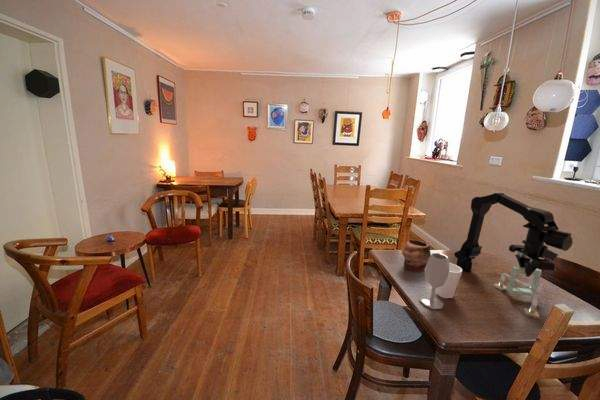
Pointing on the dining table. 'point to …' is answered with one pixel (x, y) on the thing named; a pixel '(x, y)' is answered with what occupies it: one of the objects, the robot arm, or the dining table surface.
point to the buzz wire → (531, 311)
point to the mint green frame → (520, 290)
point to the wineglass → (435, 278)
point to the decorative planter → (416, 255)
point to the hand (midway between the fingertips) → (525, 275)
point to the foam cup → (450, 282)
